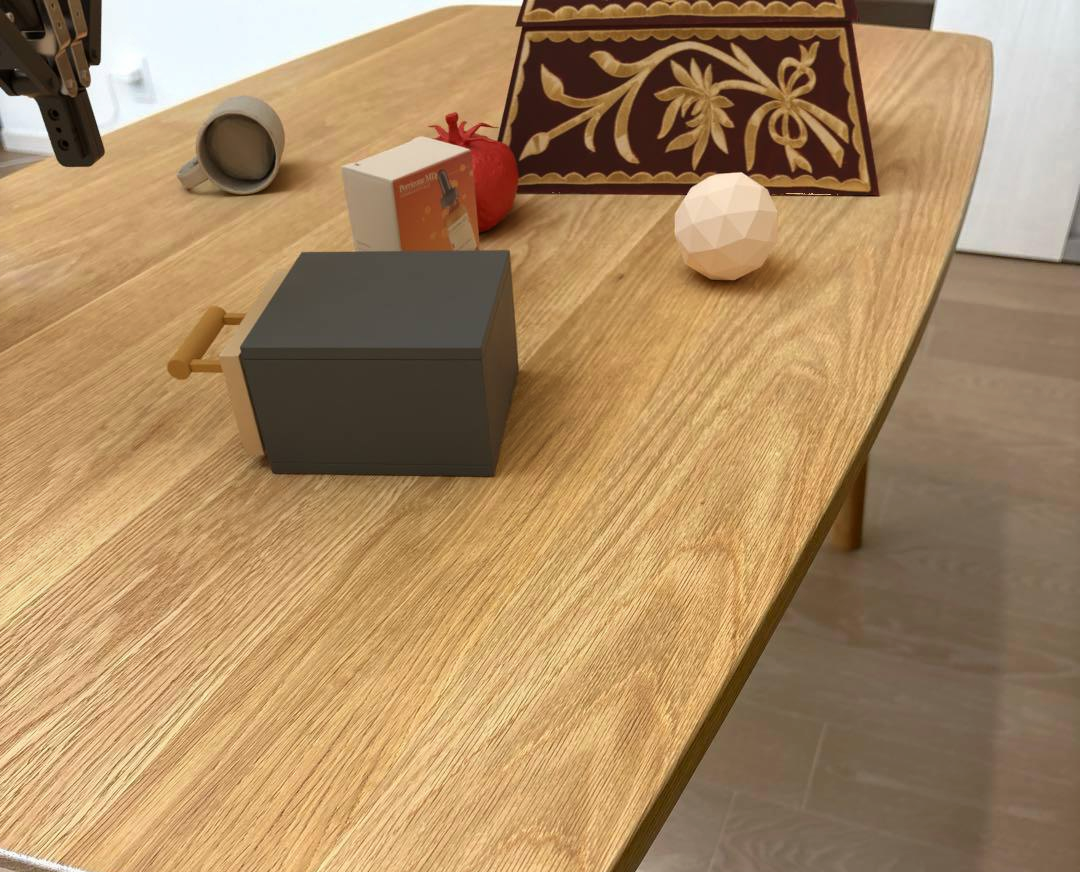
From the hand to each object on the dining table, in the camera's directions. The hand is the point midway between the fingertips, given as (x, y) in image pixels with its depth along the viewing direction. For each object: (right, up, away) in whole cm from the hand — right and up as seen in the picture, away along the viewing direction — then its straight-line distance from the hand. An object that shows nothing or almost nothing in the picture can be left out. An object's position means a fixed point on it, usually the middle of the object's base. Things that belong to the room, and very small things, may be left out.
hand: (82, 162), depth 60 cm
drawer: (+12, -13, +9) cm, 20 cm away
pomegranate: (+19, +7, +34) cm, 39 cm away
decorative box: (+40, +16, +43) cm, 61 cm away
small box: (+17, -2, +23) cm, 28 cm away
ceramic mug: (-4, +13, +44) cm, 46 cm away
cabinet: (+17, -13, +9) cm, 23 cm away
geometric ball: (+40, -1, +23) cm, 46 cm away
